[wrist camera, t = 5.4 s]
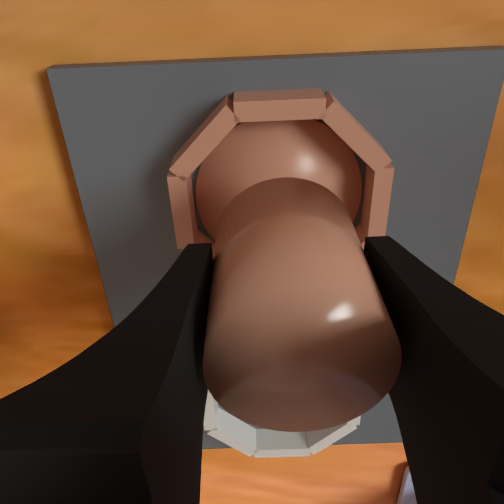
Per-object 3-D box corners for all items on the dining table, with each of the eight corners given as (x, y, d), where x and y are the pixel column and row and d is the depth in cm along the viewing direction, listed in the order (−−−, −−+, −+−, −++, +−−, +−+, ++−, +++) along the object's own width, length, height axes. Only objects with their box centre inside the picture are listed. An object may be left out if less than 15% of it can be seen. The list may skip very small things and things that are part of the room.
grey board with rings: (411, 431, 25) (422, 463, 23) (148, 440, 25) (142, 472, 23) (501, 45, 14) (531, 56, 13) (52, 65, 15) (30, 78, 13)
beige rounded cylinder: (347, 292, 15) (388, 429, 10) (221, 297, 15) (211, 435, 11) (358, 174, 12) (415, 286, 8) (209, 180, 13) (191, 295, 8)
